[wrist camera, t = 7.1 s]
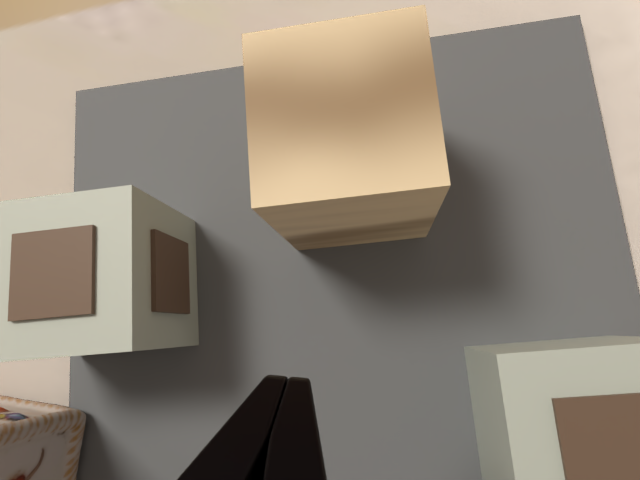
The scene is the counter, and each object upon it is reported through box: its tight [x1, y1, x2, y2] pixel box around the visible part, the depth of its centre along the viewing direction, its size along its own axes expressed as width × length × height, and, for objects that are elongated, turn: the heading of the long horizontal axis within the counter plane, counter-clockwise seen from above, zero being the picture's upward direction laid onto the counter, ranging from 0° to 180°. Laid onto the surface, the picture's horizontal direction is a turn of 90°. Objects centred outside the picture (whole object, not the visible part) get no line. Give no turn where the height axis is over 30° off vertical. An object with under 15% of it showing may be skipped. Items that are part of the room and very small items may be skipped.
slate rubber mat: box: [69, 15, 640, 480], centre depth 22 cm, size 24×26×1 cm
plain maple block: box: [242, 5, 451, 250], centre depth 19 cm, size 6×6×8 cm
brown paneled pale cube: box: [0, 185, 199, 362], centre depth 20 cm, size 6×6×6 cm
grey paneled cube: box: [464, 336, 640, 480], centre depth 16 cm, size 6×6×6 cm
